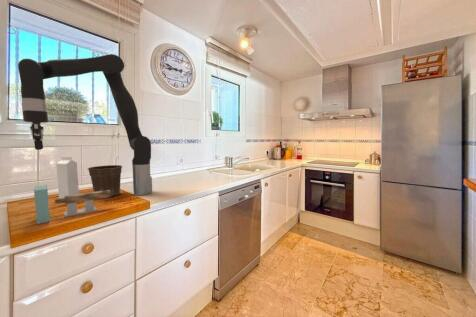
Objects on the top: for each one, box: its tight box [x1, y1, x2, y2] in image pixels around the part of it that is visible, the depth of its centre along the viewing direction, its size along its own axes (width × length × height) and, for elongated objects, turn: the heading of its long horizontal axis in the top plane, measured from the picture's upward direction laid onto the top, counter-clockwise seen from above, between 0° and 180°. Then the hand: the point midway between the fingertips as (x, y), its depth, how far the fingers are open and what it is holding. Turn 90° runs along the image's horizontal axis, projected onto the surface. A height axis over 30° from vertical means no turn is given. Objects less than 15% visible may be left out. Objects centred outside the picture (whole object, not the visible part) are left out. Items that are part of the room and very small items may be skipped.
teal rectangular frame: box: [33, 184, 51, 225], centre depth 80 cm, size 4×9×13 cm, turn 42°
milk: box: [55, 156, 80, 199], centre depth 110 cm, size 6×6×22 cm
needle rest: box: [63, 199, 98, 218], centre depth 88 cm, size 11×4×5 cm, turn 133°
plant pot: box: [87, 164, 123, 198], centre depth 115 cm, size 16×16×16 cm
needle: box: [54, 190, 111, 205], centre depth 89 cm, size 19×3×3 cm, turn 132°
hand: (39, 149), depth 88 cm, fingers open, 8 cm apart
